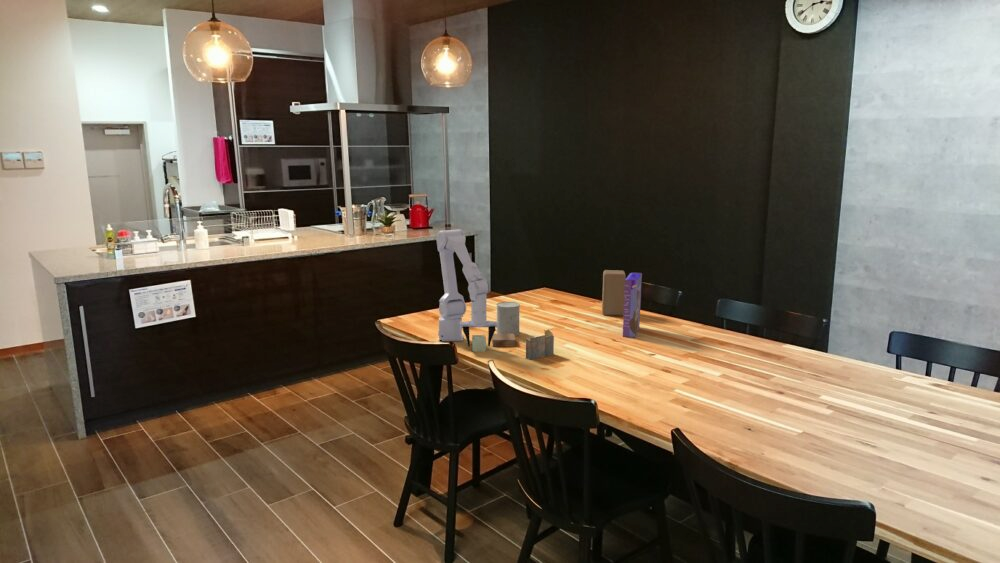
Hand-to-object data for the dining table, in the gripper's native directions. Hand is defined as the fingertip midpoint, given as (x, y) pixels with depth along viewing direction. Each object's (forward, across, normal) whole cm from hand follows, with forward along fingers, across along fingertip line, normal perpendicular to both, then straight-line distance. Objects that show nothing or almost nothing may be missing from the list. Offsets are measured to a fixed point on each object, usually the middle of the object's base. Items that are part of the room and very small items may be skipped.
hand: (479, 345), depth 240 cm
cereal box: (+2, +65, +21) cm, 68 cm away
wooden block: (+2, +65, +53) cm, 84 cm away
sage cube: (+2, 0, 0) cm, 2 cm away
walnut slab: (+1, +10, +8) cm, 13 cm away
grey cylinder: (+2, +13, +22) cm, 25 cm away
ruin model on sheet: (+2, +22, -10) cm, 24 cm away
